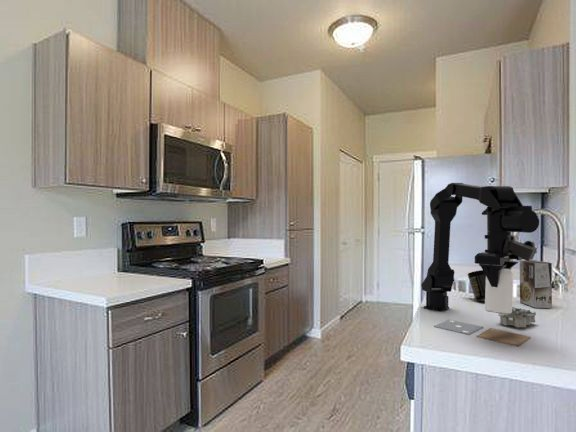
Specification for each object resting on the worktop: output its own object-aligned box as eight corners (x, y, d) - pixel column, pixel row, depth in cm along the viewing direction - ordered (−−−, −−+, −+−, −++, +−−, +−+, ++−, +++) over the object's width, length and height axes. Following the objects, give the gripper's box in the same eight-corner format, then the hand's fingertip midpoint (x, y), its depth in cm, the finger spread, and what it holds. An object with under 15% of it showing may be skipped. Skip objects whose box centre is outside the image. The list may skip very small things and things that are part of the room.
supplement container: (489, 296, 136) (480, 269, 140) (472, 300, 140) (464, 274, 144) (497, 297, 139) (489, 270, 144) (480, 301, 144) (472, 275, 148)
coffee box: (552, 308, 131) (552, 262, 131) (534, 308, 131) (534, 262, 131) (536, 302, 140) (536, 259, 140) (519, 302, 140) (518, 259, 140)
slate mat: (433, 327, 108) (433, 325, 108) (449, 321, 115) (449, 319, 115) (468, 336, 101) (468, 333, 101) (483, 328, 107) (483, 326, 107)
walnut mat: (476, 338, 99) (476, 335, 99) (490, 330, 106) (490, 328, 106) (518, 347, 92) (518, 345, 92) (530, 338, 98) (530, 336, 98)
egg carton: (522, 329, 105) (521, 314, 105) (496, 324, 111) (494, 310, 111) (540, 321, 110) (538, 307, 111) (513, 317, 117) (512, 304, 117)
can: (504, 311, 103) (505, 268, 104) (517, 315, 96) (518, 269, 98) (480, 309, 103) (482, 266, 105) (491, 312, 97) (492, 267, 98)
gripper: (521, 233, 89) (522, 297, 89) (543, 231, 101) (543, 287, 101) (473, 232, 97) (474, 291, 97) (498, 230, 110) (499, 282, 110)
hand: (499, 288), depth 101 cm, fingers closed on can, 6 cm apart
